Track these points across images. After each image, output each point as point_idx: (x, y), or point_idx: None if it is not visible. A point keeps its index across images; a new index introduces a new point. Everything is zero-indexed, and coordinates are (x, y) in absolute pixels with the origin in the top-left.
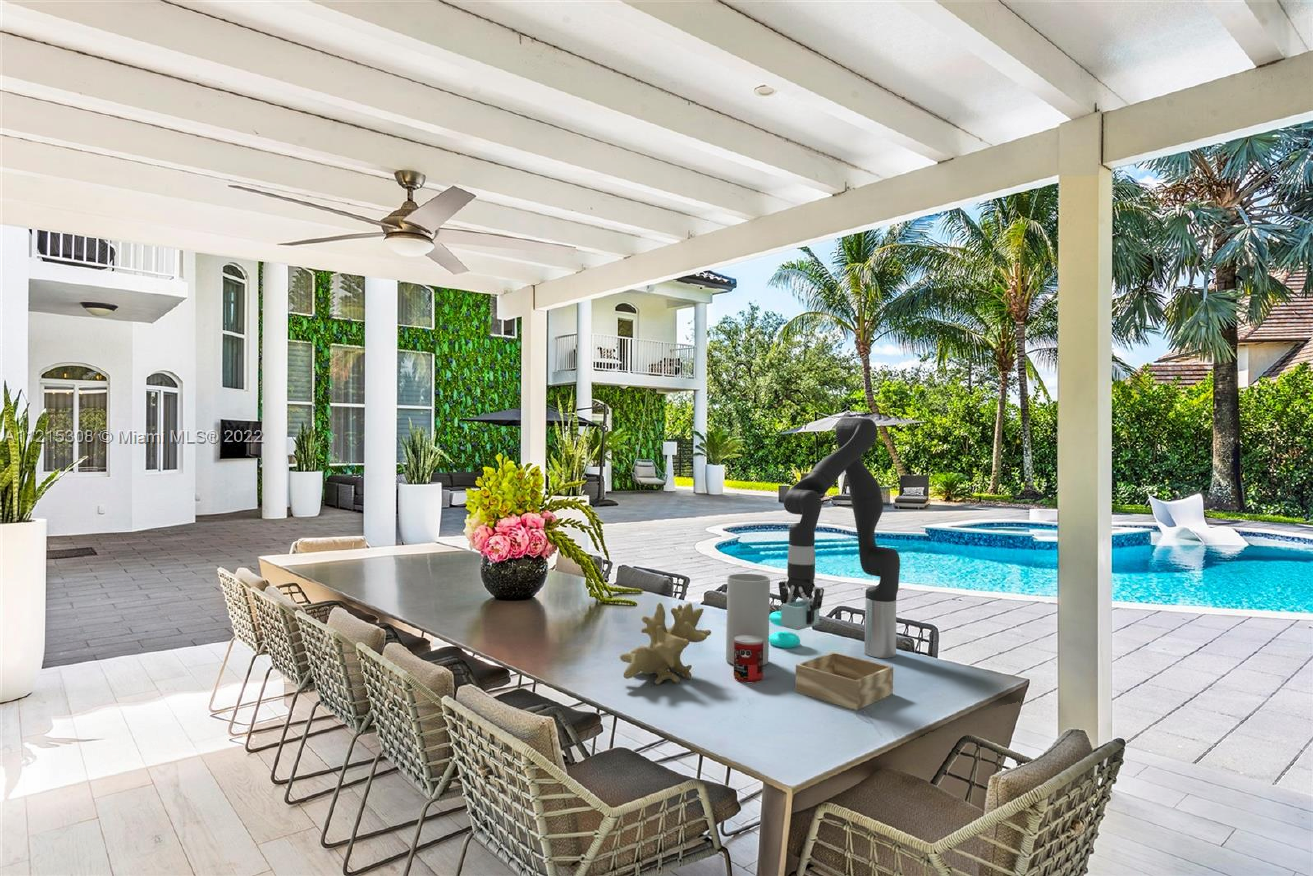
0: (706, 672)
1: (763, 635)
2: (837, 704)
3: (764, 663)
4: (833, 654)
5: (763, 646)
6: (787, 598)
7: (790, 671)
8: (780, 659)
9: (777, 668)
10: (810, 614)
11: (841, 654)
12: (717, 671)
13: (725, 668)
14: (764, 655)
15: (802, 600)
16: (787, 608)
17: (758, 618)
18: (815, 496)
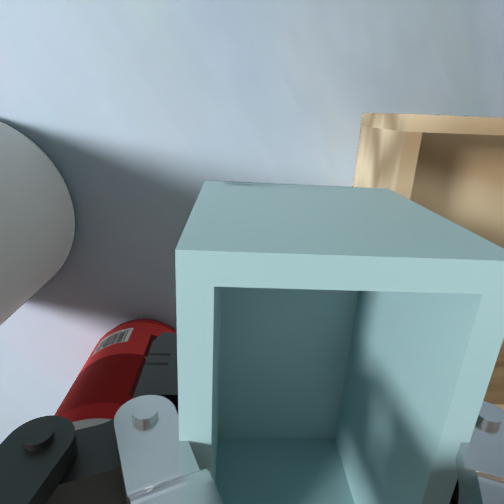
0: (11, 405)
1: (3, 270)
2: None
3: (72, 210)
4: (417, 142)
5: (36, 244)
6: (45, 488)
7: (191, 179)
8: (37, 50)
9: (129, 186)
10: None
11: (463, 123)
12: (22, 374)
13: (9, 332)
14: (58, 222)
15: (209, 304)
16: None
17: None
18: None
